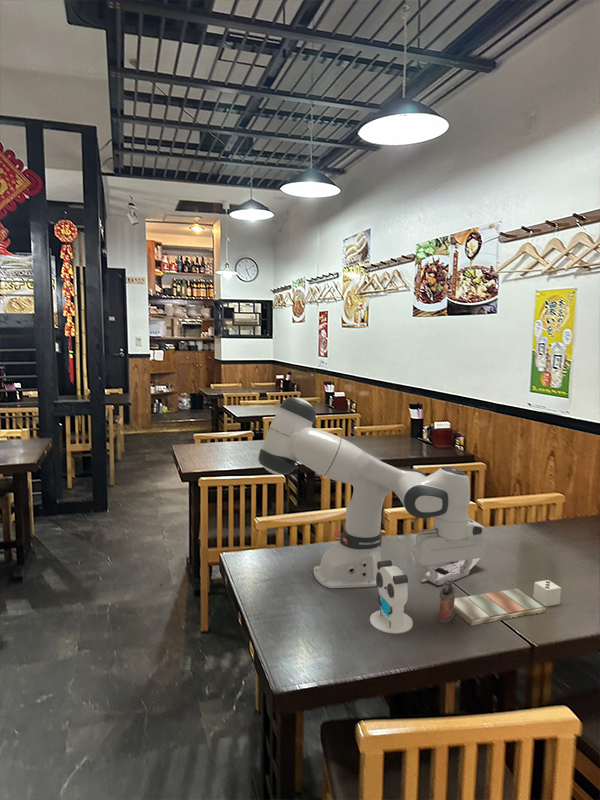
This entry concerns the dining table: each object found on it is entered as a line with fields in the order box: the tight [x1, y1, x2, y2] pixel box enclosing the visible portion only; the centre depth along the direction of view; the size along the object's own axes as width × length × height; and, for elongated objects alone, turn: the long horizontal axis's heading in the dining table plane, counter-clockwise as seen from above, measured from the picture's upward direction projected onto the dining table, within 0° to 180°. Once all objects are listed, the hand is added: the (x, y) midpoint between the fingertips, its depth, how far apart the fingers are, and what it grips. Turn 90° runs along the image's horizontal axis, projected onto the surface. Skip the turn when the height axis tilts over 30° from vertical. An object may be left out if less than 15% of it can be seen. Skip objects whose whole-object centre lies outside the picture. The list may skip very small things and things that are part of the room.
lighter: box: [438, 578, 457, 624], centre depth 146 cm, size 8×3×10 cm, turn 148°
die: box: [532, 579, 562, 607], centre depth 156 cm, size 5×5×5 cm
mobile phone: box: [420, 558, 482, 586], centre depth 171 cm, size 6×6×25 cm
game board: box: [454, 588, 547, 626], centre depth 152 cm, size 25×12×1 cm, turn 108°
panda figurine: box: [369, 559, 414, 634], centre depth 143 cm, size 12×11×15 cm
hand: (448, 575), depth 145 cm, fingers open, 8 cm apart
